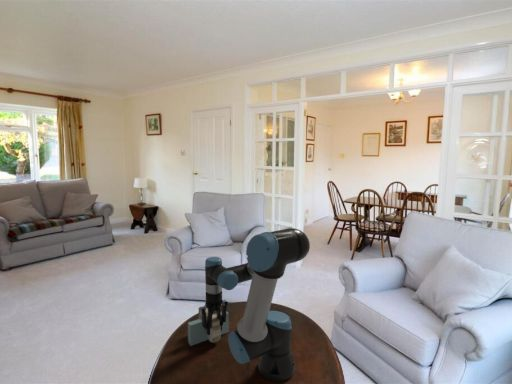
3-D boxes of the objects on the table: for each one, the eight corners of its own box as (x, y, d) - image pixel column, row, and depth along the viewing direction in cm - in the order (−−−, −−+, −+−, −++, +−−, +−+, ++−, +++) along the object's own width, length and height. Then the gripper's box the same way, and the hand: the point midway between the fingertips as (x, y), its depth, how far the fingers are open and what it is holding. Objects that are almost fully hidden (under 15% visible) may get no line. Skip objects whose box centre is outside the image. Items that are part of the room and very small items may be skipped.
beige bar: (219, 340, 140) (219, 319, 139) (212, 342, 138) (212, 322, 137) (205, 324, 153) (205, 305, 152) (198, 326, 151) (198, 307, 150)
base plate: (225, 329, 152) (225, 310, 151) (228, 332, 150) (228, 313, 149) (188, 342, 141) (187, 322, 140) (190, 346, 139) (190, 325, 138)
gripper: (226, 283, 145) (226, 329, 148) (193, 292, 136) (194, 340, 139) (233, 289, 139) (234, 337, 142) (200, 298, 130) (201, 349, 133)
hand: (214, 338), depth 140 cm, fingers closed on beige bar, 3 cm apart
